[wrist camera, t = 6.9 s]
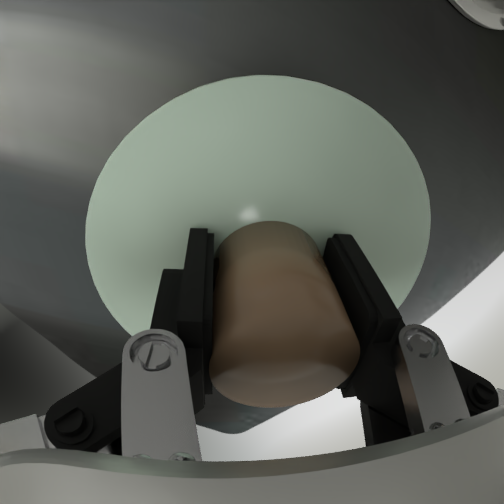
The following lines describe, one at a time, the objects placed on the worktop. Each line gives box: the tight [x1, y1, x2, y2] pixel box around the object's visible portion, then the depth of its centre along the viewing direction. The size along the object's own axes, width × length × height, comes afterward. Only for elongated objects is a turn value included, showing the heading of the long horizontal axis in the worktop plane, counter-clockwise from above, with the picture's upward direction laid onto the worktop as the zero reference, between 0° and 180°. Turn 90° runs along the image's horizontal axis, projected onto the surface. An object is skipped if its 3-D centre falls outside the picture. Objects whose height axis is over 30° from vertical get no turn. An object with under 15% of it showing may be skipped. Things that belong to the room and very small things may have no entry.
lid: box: [86, 75, 431, 407], centre depth 9 cm, size 12×12×5 cm
